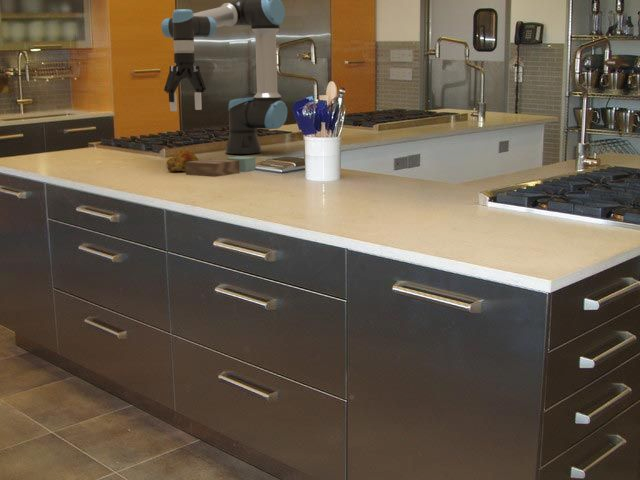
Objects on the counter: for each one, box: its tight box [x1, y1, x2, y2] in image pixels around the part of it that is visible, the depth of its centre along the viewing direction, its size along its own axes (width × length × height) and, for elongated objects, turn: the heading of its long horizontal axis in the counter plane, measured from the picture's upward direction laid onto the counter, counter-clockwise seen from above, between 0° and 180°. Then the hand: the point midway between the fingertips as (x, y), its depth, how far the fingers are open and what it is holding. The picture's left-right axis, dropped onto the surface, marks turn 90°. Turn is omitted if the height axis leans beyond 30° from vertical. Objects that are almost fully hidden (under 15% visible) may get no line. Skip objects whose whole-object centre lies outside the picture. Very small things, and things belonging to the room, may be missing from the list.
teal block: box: [226, 155, 257, 173], centre depth 339 cm, size 8×8×5 cm
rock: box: [166, 148, 199, 172], centre depth 336 cm, size 11×8×10 cm
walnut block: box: [185, 158, 240, 178], centre depth 328 cm, size 14×14×5 cm
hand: (186, 110), depth 332 cm, fingers open, 13 cm apart
